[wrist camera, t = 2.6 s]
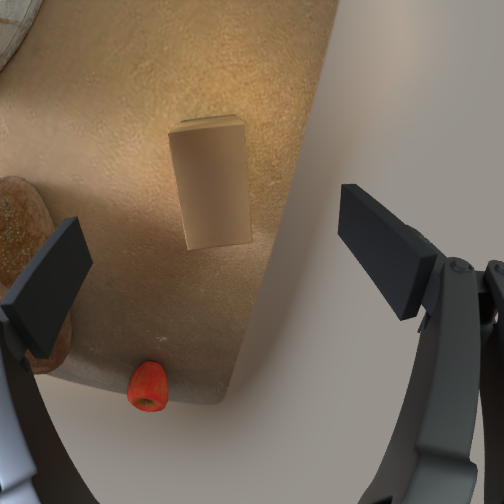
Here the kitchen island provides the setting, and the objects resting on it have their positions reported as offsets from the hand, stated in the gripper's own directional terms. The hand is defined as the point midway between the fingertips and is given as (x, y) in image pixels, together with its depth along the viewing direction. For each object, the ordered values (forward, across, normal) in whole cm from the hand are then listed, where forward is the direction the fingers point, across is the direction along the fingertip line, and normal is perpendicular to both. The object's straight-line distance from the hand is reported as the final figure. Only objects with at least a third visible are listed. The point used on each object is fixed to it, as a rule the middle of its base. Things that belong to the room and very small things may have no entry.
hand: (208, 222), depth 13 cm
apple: (+15, -14, -30) cm, 36 cm away
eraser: (+15, 0, -1) cm, 15 cm away
